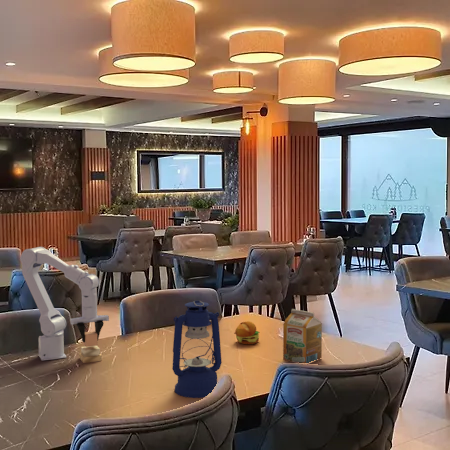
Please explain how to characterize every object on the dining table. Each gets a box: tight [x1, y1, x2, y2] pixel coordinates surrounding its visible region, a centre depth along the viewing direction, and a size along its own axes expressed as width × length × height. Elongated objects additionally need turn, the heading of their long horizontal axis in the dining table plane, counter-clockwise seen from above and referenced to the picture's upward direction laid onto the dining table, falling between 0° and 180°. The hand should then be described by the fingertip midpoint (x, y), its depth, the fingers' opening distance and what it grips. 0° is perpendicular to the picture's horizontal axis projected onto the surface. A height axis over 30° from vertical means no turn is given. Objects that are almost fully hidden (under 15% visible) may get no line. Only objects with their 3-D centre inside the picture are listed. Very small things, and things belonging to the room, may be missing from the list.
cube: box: [82, 330, 98, 347], centre depth 238 cm, size 4×4×4 cm
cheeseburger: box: [233, 320, 260, 345], centre depth 262 cm, size 10×11×10 cm
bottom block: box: [78, 352, 103, 364], centre depth 239 cm, size 7×7×2 cm
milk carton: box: [282, 308, 323, 364], centre depth 237 cm, size 11×11×19 cm
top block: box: [80, 345, 101, 357], centre depth 238 cm, size 6×6×2 cm
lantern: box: [171, 300, 223, 399], centre depth 203 cm, size 17×15×30 cm
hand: (90, 340), depth 238 cm, fingers closed on cube, 4 cm apart
